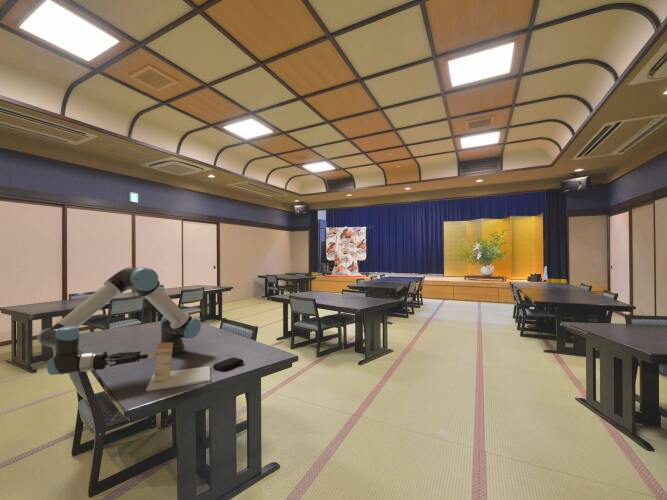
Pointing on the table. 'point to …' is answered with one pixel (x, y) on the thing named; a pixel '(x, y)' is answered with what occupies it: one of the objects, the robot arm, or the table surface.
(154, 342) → the table surface
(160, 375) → the birch block
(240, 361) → the carrying case or bag
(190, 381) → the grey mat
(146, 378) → the table surface
